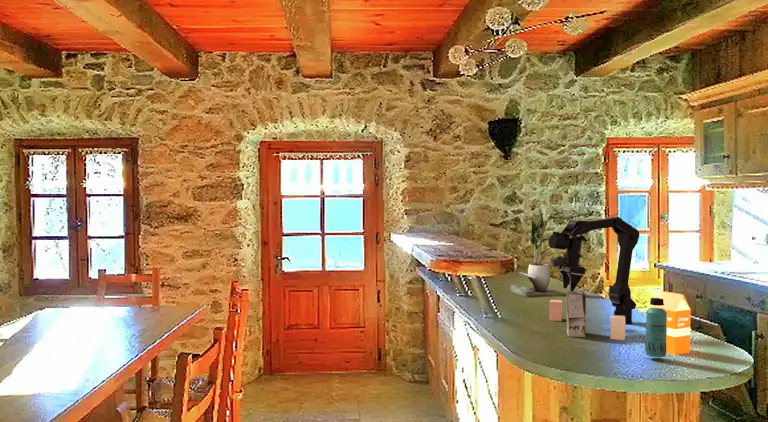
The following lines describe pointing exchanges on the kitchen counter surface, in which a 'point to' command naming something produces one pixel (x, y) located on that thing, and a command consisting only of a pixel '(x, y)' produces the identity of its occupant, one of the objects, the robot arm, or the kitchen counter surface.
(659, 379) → the kitchen counter surface
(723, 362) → the kitchen counter surface
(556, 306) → the terracotta block
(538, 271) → the potted plant
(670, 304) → the orange juice
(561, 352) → the kitchen counter surface
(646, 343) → the beverage bottle
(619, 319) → the cream block
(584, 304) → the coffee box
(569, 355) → the kitchen counter surface
